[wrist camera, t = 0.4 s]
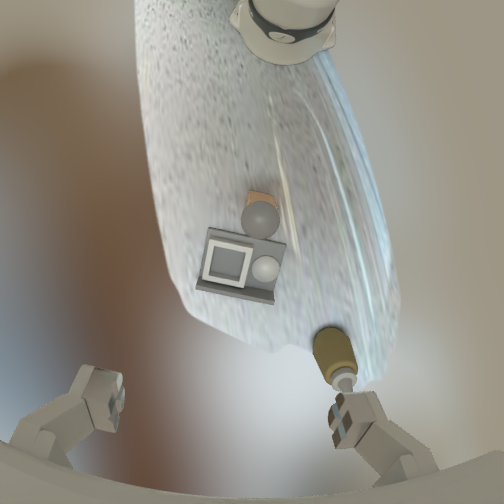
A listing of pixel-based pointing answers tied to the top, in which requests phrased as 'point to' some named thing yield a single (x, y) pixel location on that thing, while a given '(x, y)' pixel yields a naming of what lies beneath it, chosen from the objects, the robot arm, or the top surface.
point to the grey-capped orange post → (260, 216)
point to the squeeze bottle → (336, 359)
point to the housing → (240, 266)
